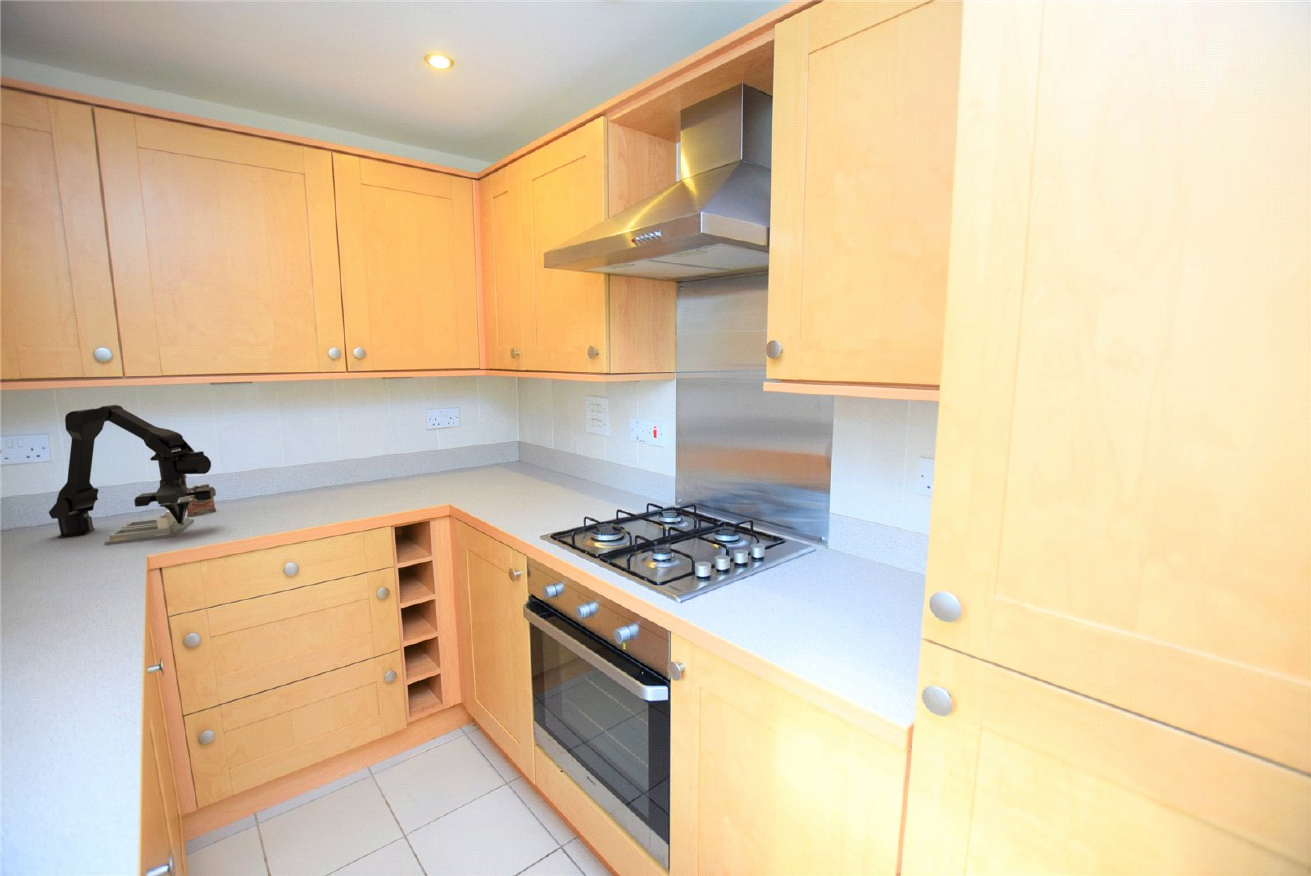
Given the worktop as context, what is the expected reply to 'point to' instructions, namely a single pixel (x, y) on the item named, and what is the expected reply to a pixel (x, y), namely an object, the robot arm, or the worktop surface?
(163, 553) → the worktop surface
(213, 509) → the lighter
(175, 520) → the tab
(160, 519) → the tab
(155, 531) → the switch bank
